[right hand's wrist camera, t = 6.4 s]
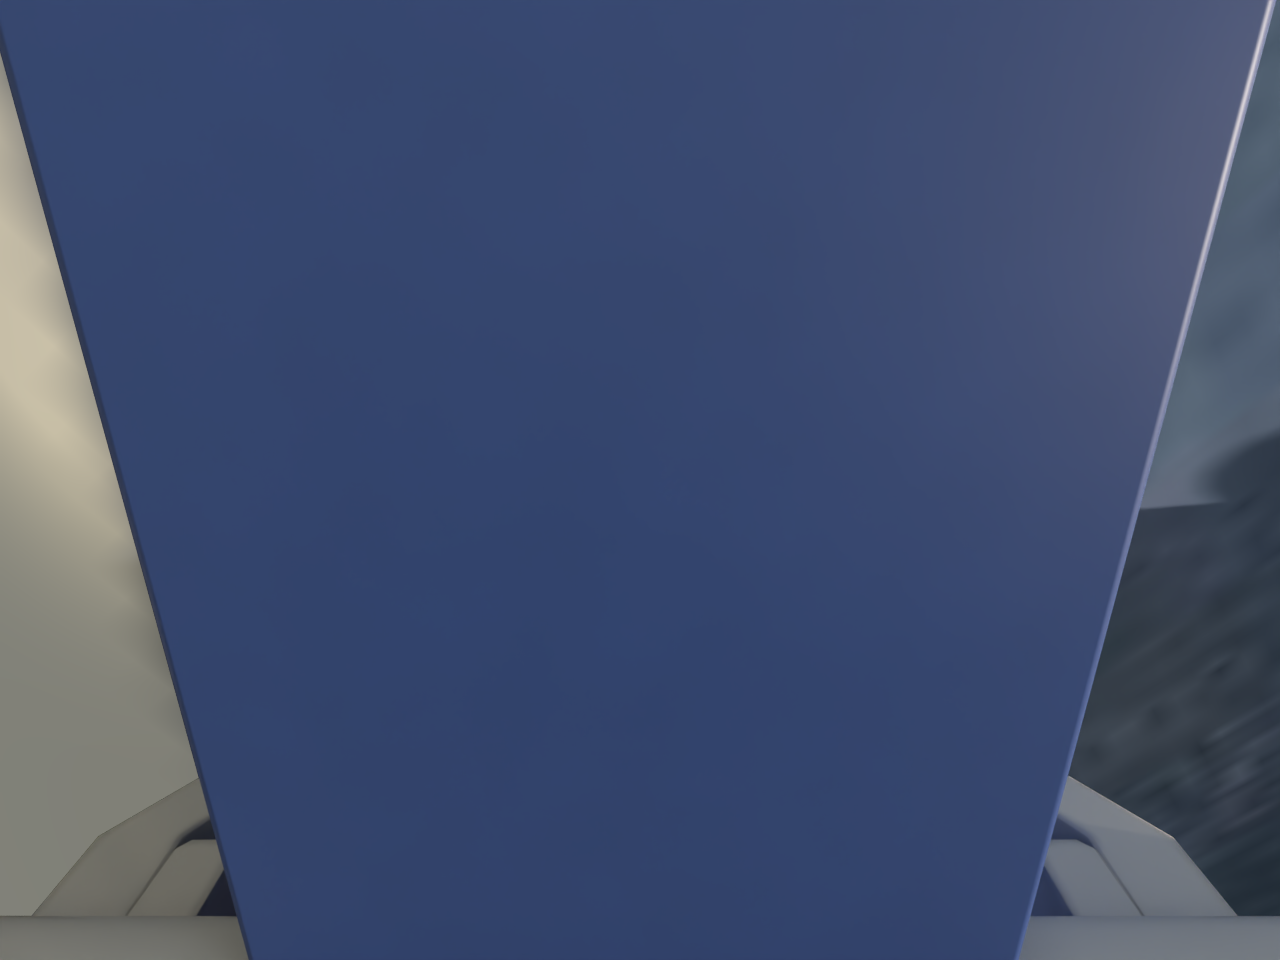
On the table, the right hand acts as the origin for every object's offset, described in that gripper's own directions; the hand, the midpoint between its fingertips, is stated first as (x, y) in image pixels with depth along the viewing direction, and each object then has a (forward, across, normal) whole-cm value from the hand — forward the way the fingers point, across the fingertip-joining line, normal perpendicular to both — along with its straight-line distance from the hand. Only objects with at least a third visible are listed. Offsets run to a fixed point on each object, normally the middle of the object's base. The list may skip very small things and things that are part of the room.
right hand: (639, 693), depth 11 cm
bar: (+4, 0, +9) cm, 10 cm away
